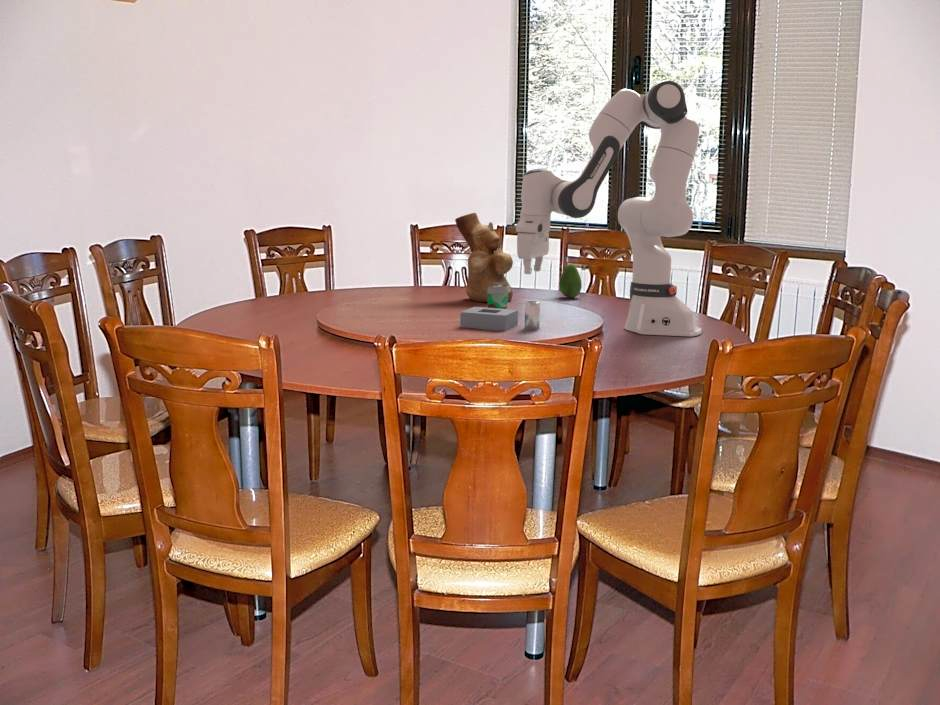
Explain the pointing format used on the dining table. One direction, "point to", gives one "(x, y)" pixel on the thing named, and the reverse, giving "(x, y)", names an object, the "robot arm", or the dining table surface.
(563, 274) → the avocado
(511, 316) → the slate jig
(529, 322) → the cylinder
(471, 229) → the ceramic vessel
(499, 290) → the food container
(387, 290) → the dining table surface
